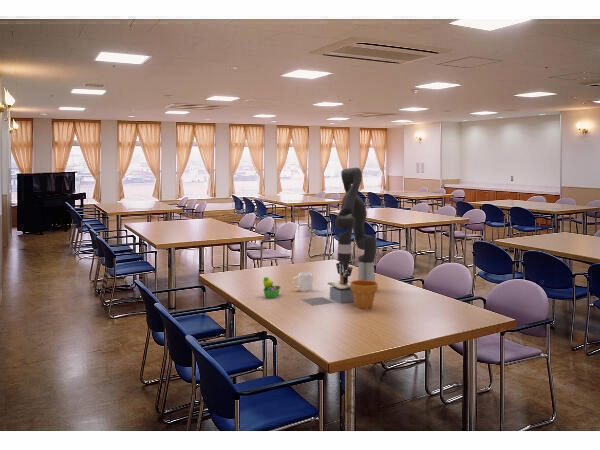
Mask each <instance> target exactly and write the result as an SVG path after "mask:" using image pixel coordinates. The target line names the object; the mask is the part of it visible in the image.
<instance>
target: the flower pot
mask: <svg viewBox="0 0 600 450" xmlns="http://www.w3.org/2000/svg"><path fill="white" fill-rule="evenodd" d="M350 282H351V290H352V292H353V298H354V301H353V302H354V306H355V307H356V308H358V309H362V310H363V309H364V310H368V308H369V309H372V307H373V303H374V299H375V296H376V293H377V291H378V282H377V281H375V282H374V281H369V280H358V279H357V280H353V281H350Z"/></svg>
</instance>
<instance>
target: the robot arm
mask: <svg viewBox="0 0 600 450" xmlns="http://www.w3.org/2000/svg"><path fill="white" fill-rule="evenodd" d="M340 174H341V182H342V185H343V187H344V190H345V195H344V196H343V198H342V200H341V206H340V210H339V213H338V215H337V216H336V218H335V221H334V224H335V227H336V228H337V229H340V230H341V229H342V230H345V229H346V230H347V231H345V232H340V233H339V234H338V235H337V236H338V241H337V242H338V245H337V261H339V262H337V263H335V265H336V270H337V274H339V276H340V275H344V283H348V281H349V277H350V276H351V275H352V273H353V272H352V271H353V269H354V268H353V266H351V264H350V262H351V261H352V234H353V231H354V237H355V244H356V246H357V248H358V249H360V250H362V251H364V252H363V254H362V255H360V256H358V264H357V265H358V266H357V267H358V270H357V272H358V275H357V276H358V277H357V280H369V281H374V282H376V278H375V277H376V275H375V273H374V272H375V271H374V270H375V269H374V268H375V266H374V265H375V258H376V255H377V254H376V252H377V240H376V237H375V236H373V235H368V234H366V231H365V222H366V219H367V213H368V212H367V208H366V203H365V202H364V200H363V199H362V198H361V197H360V196H359V195H358V192H359V190H360V189H359V188H360V185H361V184H362V179H363V174H362V170H361V169H360V167H351V168H350V167H349V168H344V169H342V170H341V172H340Z"/></svg>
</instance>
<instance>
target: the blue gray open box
mask: <svg viewBox="0 0 600 450" xmlns="http://www.w3.org/2000/svg"><path fill="white" fill-rule="evenodd" d="M330 299H331V300H333V301H334V302H335V301H336V302H338V303H340V304H341V303H350V302H351V303H352V302H354V298H353V292H352V290H351V288H345V289H339V288H336V287H334V286H330V287H329V300H330Z"/></svg>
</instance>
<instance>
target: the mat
mask: <svg viewBox="0 0 600 450" xmlns="http://www.w3.org/2000/svg"><path fill="white" fill-rule="evenodd" d="M300 301H303V302H304V303H306V304H308V305H310V306H311V307H312V306H320V305H328V304H335V303H336V302H335V301H332V300H330V299H327V298H325V297H323V296H318V297H310V298H303V299H300Z"/></svg>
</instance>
